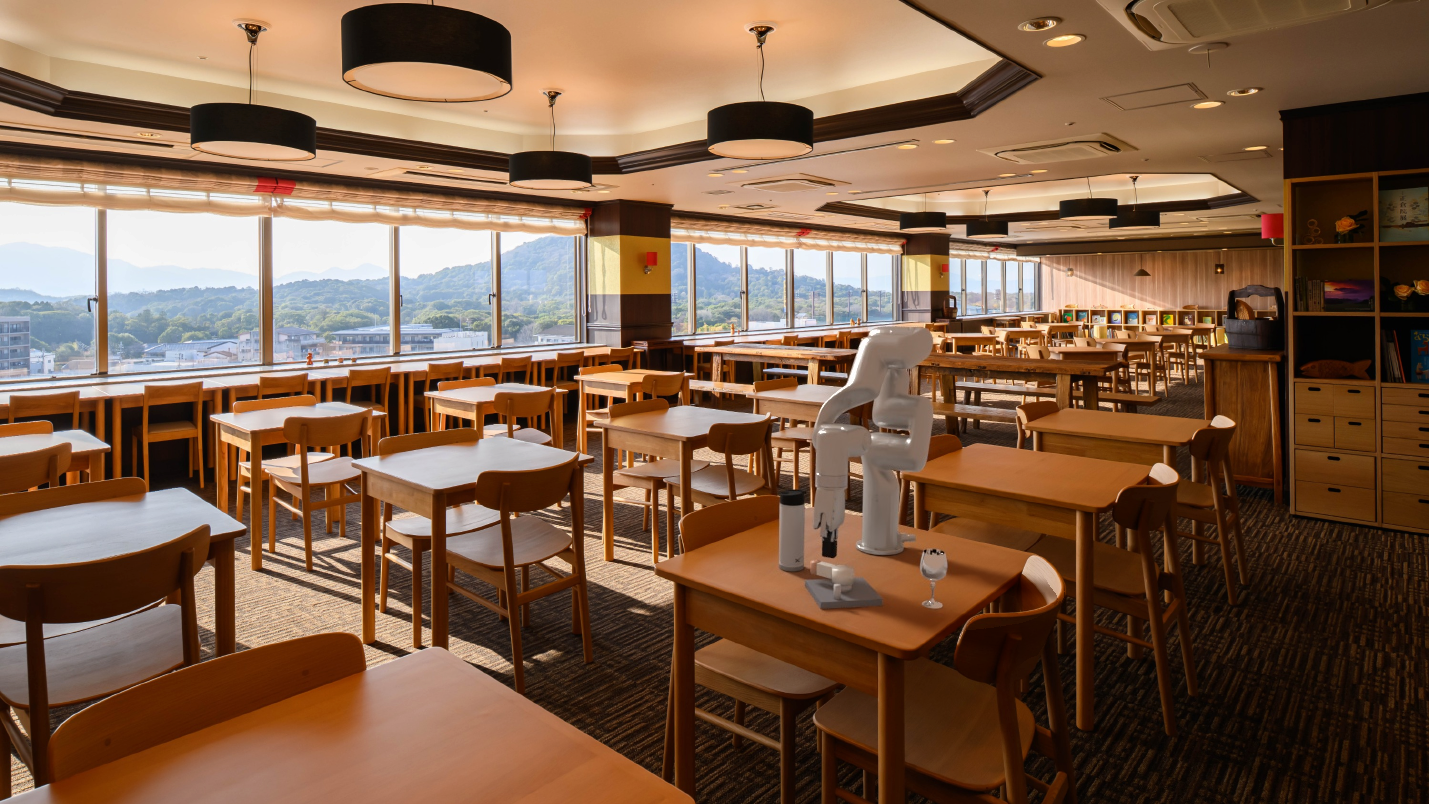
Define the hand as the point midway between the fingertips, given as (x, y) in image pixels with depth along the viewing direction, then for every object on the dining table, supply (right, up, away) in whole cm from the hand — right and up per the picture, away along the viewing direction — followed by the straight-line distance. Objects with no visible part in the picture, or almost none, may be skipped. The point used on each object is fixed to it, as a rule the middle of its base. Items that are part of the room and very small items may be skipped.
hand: (829, 556), depth 187 cm
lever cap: (-1, -4, -7) cm, 8 cm away
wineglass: (+21, -8, -14) cm, 26 cm away
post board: (+2, -7, -9) cm, 11 cm away
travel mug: (-8, -5, +10) cm, 14 cm away
